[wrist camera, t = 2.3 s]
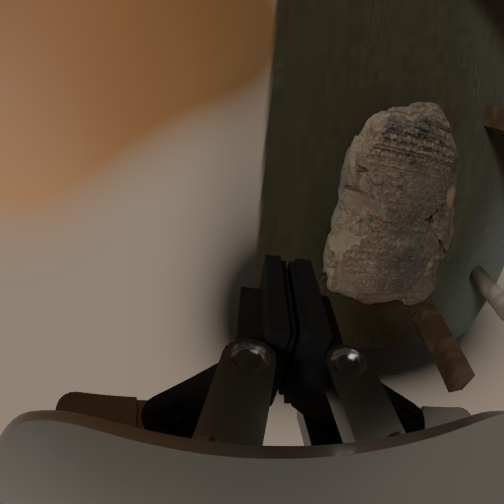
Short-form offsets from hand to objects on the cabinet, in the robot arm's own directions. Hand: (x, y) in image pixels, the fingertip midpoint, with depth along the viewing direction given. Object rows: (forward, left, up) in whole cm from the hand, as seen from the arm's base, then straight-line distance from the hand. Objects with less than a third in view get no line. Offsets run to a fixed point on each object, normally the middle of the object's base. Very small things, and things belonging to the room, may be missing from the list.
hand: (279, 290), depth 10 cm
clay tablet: (-1, +12, -15) cm, 19 cm away
